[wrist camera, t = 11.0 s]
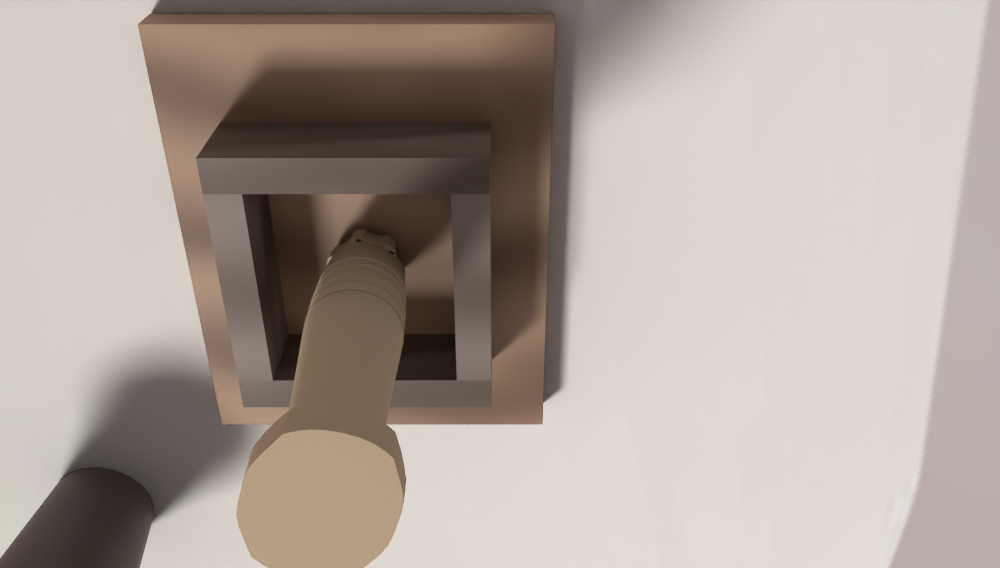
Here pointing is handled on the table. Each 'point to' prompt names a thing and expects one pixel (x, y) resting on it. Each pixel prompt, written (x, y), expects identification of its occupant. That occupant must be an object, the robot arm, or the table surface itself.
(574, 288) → the table surface
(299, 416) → the handle
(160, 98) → the holder
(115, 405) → the table surface
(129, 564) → the coffee cup
